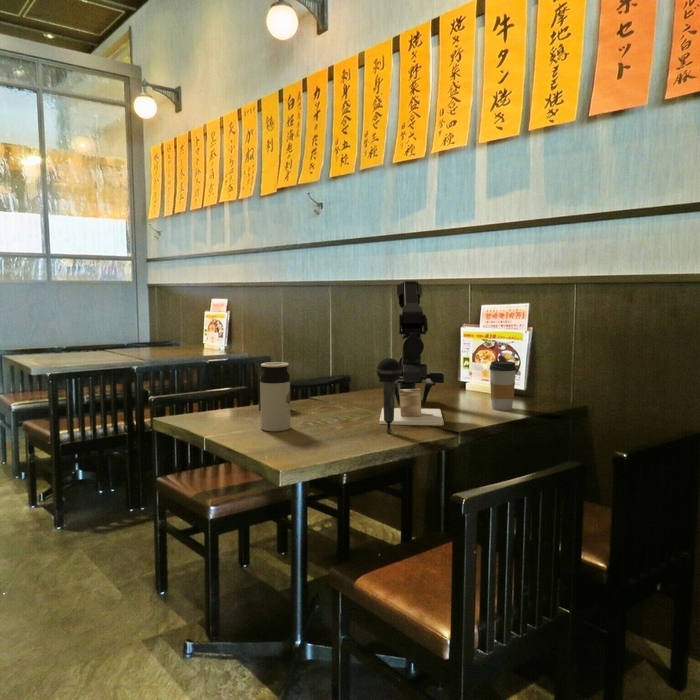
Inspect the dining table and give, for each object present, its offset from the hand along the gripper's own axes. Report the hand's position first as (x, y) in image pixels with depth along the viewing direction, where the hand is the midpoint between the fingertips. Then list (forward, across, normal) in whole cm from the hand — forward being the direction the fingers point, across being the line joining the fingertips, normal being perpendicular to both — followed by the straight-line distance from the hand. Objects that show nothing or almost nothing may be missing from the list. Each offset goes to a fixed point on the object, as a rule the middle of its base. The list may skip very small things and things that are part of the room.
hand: (411, 405), depth 170 cm
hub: (+4, 0, 0) cm, 4 cm away
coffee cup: (+4, +29, +16) cm, 33 cm away
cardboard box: (+3, 0, 0) cm, 3 cm away
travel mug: (+4, -37, -17) cm, 41 cm away
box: (+4, -44, +9) cm, 45 cm away
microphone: (+4, -6, -19) cm, 20 cm away
